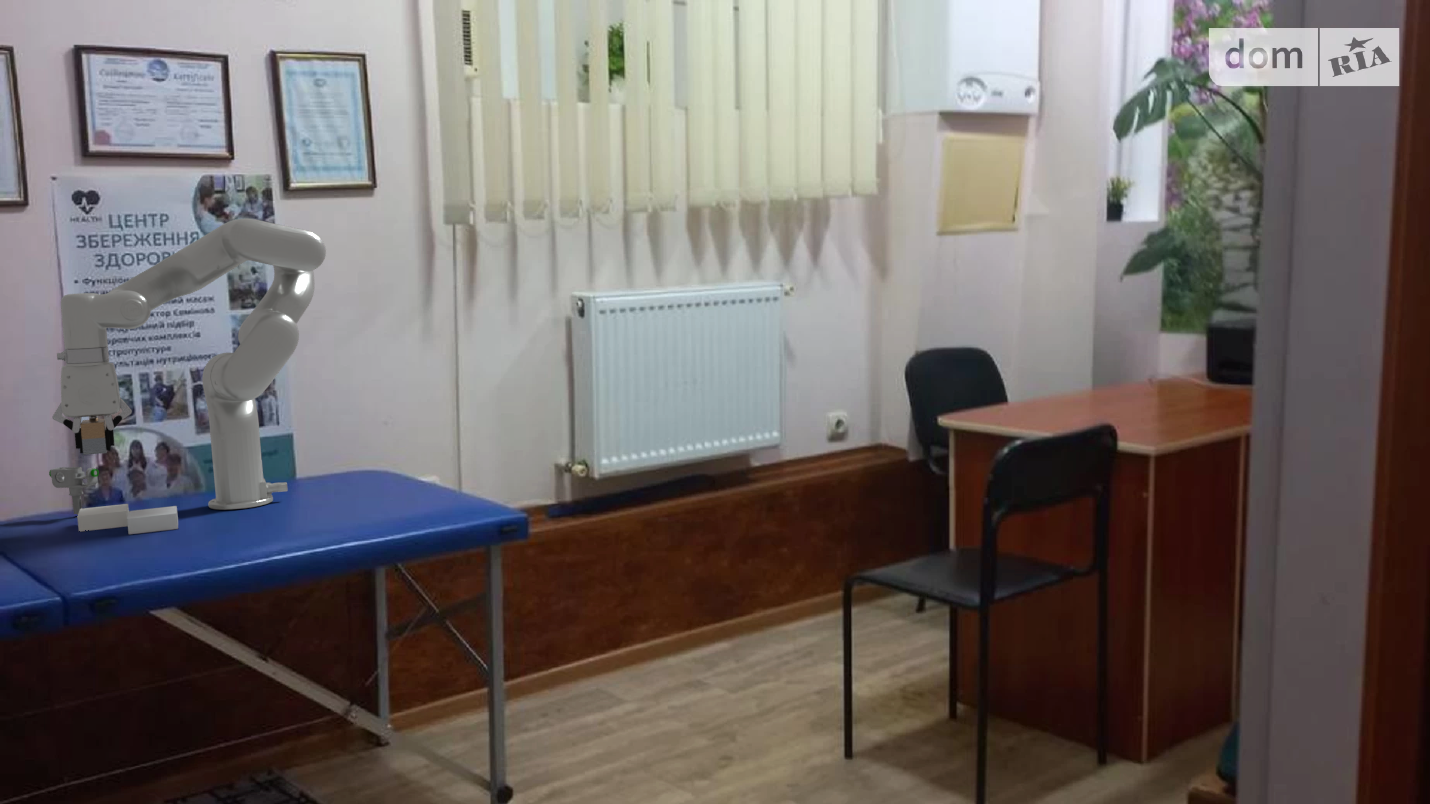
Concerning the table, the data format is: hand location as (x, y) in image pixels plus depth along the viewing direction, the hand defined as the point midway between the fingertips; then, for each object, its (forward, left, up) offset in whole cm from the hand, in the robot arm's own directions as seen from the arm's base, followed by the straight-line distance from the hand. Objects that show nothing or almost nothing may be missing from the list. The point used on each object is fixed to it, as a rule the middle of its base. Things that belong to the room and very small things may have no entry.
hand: (95, 450), depth 250 cm
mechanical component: (+5, -14, -15) cm, 21 cm away
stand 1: (0, 0, -15) cm, 15 cm away
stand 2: (-9, +9, -15) cm, 20 cm away
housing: (0, 0, 0) cm, 0 cm away
